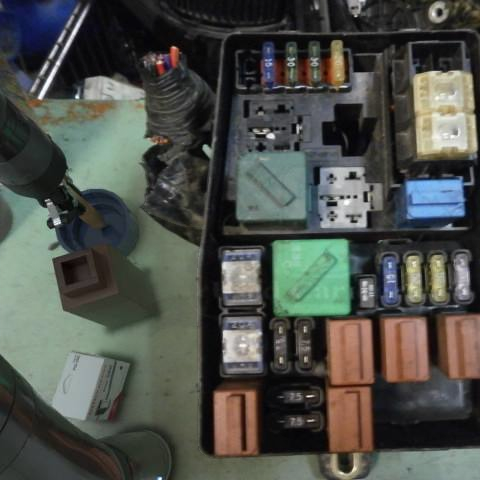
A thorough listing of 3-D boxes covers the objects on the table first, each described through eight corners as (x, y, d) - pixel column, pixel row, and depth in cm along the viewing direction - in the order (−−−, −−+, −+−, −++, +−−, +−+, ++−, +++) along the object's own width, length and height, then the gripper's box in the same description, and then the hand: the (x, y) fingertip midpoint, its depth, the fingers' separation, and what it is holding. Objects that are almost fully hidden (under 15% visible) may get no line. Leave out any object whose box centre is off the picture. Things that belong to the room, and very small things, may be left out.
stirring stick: (106, 227, 86) (70, 196, 72) (95, 230, 86) (57, 199, 72) (103, 216, 86) (68, 184, 73) (92, 220, 86) (54, 187, 73)
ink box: (114, 420, 80) (84, 424, 69) (82, 413, 80) (47, 416, 69) (131, 362, 82) (105, 356, 71) (100, 355, 83) (69, 349, 71)
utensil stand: (155, 314, 85) (111, 288, 64) (111, 328, 84) (52, 306, 64) (144, 272, 86) (98, 235, 66) (101, 286, 86) (40, 252, 65)
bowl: (146, 254, 87) (137, 244, 82) (77, 275, 86) (63, 267, 81) (130, 192, 90) (120, 179, 85) (63, 212, 89) (48, 200, 83)
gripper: (-27, 109, 62) (41, 169, 79) (-7, 217, 59) (60, 256, 75) (39, 92, 63) (93, 155, 80) (63, 197, 60) (114, 240, 76)
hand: (77, 204), depth 77 cm, fingers closed on stirring stick, 2 cm apart
